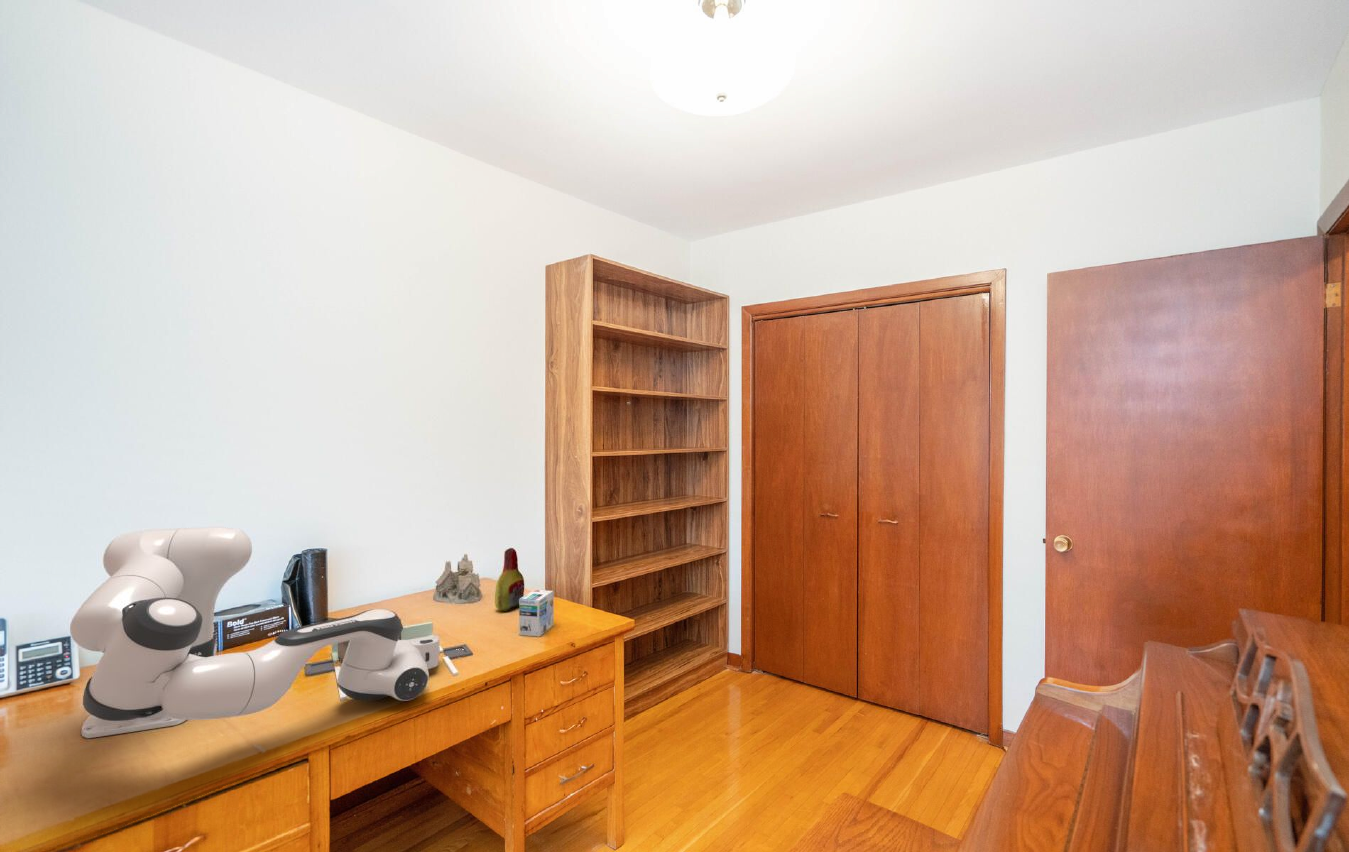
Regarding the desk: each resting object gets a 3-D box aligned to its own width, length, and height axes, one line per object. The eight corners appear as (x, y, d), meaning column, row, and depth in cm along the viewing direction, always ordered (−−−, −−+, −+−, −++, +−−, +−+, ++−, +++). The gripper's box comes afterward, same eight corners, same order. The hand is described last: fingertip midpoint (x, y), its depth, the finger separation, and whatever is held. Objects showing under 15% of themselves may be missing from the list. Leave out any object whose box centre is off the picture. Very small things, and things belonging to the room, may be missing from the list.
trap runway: (307, 707, 130) (307, 689, 130) (304, 658, 157) (304, 643, 157) (483, 668, 150) (483, 653, 150) (454, 631, 177) (454, 617, 177)
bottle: (516, 602, 206) (516, 544, 206) (530, 605, 203) (530, 546, 203) (490, 611, 196) (490, 550, 196) (504, 614, 193) (504, 553, 193)
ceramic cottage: (433, 594, 215) (435, 553, 215) (481, 591, 221) (482, 551, 220) (431, 609, 201) (433, 565, 200) (482, 606, 206) (484, 563, 206)
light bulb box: (539, 637, 173) (539, 600, 173) (518, 635, 174) (518, 598, 174) (554, 625, 183) (554, 590, 183) (534, 623, 184) (534, 588, 184)
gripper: (351, 683, 138) (347, 663, 149) (444, 664, 149) (433, 647, 160) (351, 656, 138) (347, 638, 149) (444, 639, 149) (433, 623, 160)
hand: (392, 642), depth 155 cm, fingers closed
